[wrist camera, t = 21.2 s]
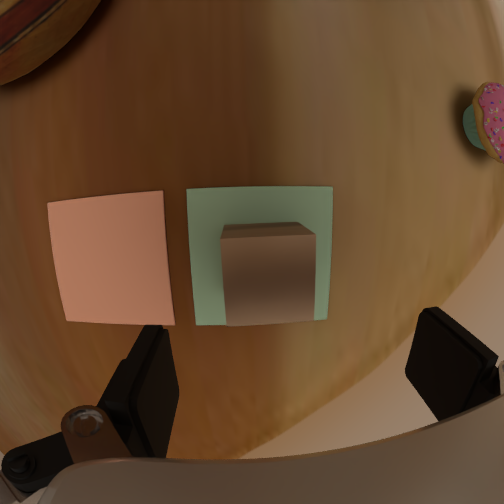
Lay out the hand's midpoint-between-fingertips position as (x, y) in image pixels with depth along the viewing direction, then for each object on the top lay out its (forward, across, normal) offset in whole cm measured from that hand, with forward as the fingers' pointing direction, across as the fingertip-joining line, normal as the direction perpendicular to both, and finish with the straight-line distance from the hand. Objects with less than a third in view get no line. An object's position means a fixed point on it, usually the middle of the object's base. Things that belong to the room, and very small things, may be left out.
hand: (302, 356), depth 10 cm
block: (+15, 0, +1) cm, 15 cm away
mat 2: (+16, 0, +1) cm, 16 cm away
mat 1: (+16, +14, +1) cm, 21 cm away
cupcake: (+16, -24, -13) cm, 32 cm away
